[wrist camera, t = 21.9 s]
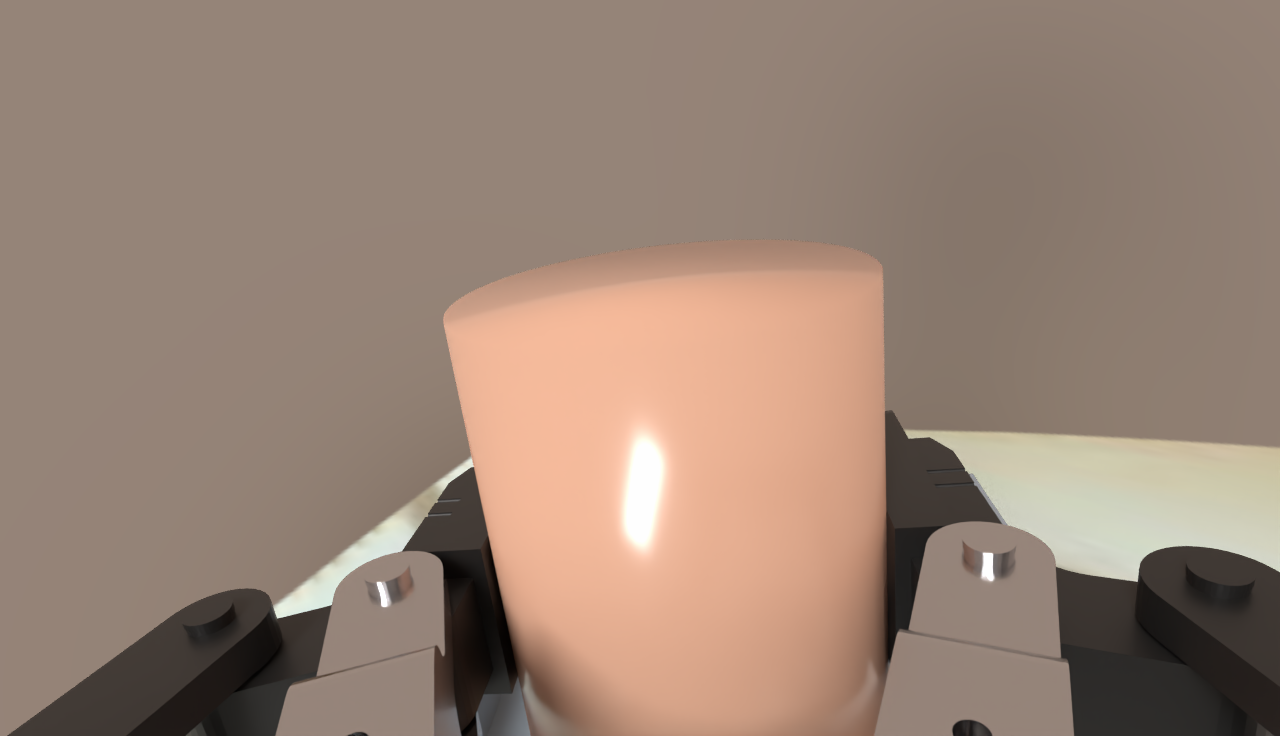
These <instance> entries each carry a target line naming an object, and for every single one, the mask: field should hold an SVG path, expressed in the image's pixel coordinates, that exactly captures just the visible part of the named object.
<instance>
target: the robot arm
mask: <svg viewBox="0 0 1280 736" xmlns="http://www.w3.org/2000/svg"><path fill="white" fill-rule="evenodd" d="M885 455H886V525H887V595H888V659H889V663H890V667H889V671H888V676H887V680H886V685H885V689H884V693H883V698H882V702H881V707H880V711H879V716H878V720H877V725H876V729H875V734H874V736H1280V572H1278V571H1276V570H1275V569H1273V568H1271V567H1269V566H1267V565H1265V564H1263V563H1260V562H1258V561H1256V560H1254V559H1251V558H1248V557H1245V556H1242V555H1239V554H1235V553H1231V552H1228V551H1223V550H1218V549H1213V548H1205V547H1193V546H1179V547H1169V548H1164V549H1160V550H1156V551H1154V552H1152V553H1150V554H1148V555H1147V556H1146V557H1145V558H1144V559H1143V560H1142V562H1141V563H1140V568H1139V576H1138V582H1134V581H1127V580H1119V579H1112V578H1105V577H1098V576H1091V575H1085V574H1079V573H1075V572H1071V571H1067V570H1064V569H1061V568H1057V567H1056V564H1055V558H1054V555H1053V553H1052V551H1051V550H1050V548H1049V547H1048V546H1047V545H1046V544H1045V543H1044V542H1042V541H1041V540H1040V539H1038V538H1037V537H1035V536H1033V535H1032V534H1030V533H1027V532H1025V531H1023V530H1020V529H1018V528H1015V527H1012V526H1007V525H1003V524H1002V523H1001V521H1000V520H999V518H998V517H997V515H996V514H995V512H994V511H993V509H992V508H991V506H990V505H989V503H988V502H987V500H986V499H985V497H984V496H983V494H982V493H981V492H980V490H979V489H978V487H977V486H975V485H974V481H973V480H972V478H971V477H970V475H969V474H968V472H967V471H965V468H964V466H963V465H962V463H961V462H960V460H959V459H958V457H957V456H956V454H955V453H954V452H953V451H952V450H950V449H949V448H947V447H945V446H944V445H942V444H940V443H938V442H937V441H935V440H933V439H931V438H930V437H929V438H914V439H908V437H907V435H906V434H905V432H904V430H903V428H902V427H901V425H900V423H899V421H898V420H897V418H896V416H895V414H894V413H893V411H891V410H890V411H885ZM517 678H518V673H517V669H516V664H515V659H514V654H513V650H512V645H511V640H510V636H509V631H508V626H507V621H506V617H505V612H504V607H503V602H502V598H501V593H500V588H499V583H498V579H497V574H496V569H495V564H494V560H493V555H492V550H491V546H490V541H489V536H488V531H487V527H486V522H485V517H484V512H483V508H482V503H481V498H480V493H479V489H478V484H477V479H476V474H475V470H474V467H471V468H470V469H468V470H467V471H465V472H464V473H463V474H461V475H460V476H458V477H457V478H455V479H454V480H453V481H451V482H450V483H449V484H448V485H447V487H446V488H445V490H444V491H443V493H442V494H441V496H440V497H439V499H438V503H435V504H434V506H433V507H432V509H431V510H430V512H429V513H428V517H425V519H424V520H423V522H422V523H421V525H420V526H419V527H418V529H417V530H416V532H415V533H414V535H413V536H412V538H411V539H410V540H409V542H408V543H407V545H406V546H405V548H404V549H403V551H402V552H398V553H393V554H389V555H385V556H382V557H379V558H377V559H374V560H372V561H370V562H367V563H365V564H364V565H362V566H360V567H358V568H357V569H355V570H354V571H352V572H351V573H350V574H349V575H347V576H346V577H345V578H344V579H343V580H342V581H341V582H340V584H339V585H338V587H337V588H336V591H335V594H334V598H333V602H332V605H331V606H327V607H324V608H319V609H315V610H311V611H307V612H303V613H299V614H295V615H291V616H287V617H283V618H278V619H277V617H276V614H275V611H274V608H273V605H272V602H271V600H270V597H269V596H268V595H267V594H266V593H265V592H263V591H261V590H256V589H236V590H230V591H225V592H222V593H218V594H215V595H212V596H209V597H206V598H204V599H201V600H199V601H197V602H195V603H193V604H191V605H189V606H187V607H185V608H184V609H182V610H180V611H179V612H177V613H175V614H174V615H172V616H171V617H170V618H168V619H167V620H165V621H164V622H163V623H161V624H160V625H159V626H157V627H156V628H154V629H153V630H152V631H151V632H149V633H148V634H146V635H145V636H144V637H142V638H141V639H139V640H138V641H137V642H135V643H134V644H133V645H131V646H130V647H128V648H127V649H126V650H124V651H123V652H122V653H120V654H119V655H117V656H116V657H115V658H114V659H112V660H111V661H109V662H108V663H107V664H105V665H104V666H102V667H101V668H100V669H98V670H97V671H96V672H94V673H93V674H91V675H90V676H89V677H87V678H86V679H85V680H83V681H82V682H80V683H79V684H78V685H76V686H75V687H74V688H72V689H71V690H70V691H68V692H67V693H65V694H64V695H63V696H61V697H60V698H58V699H57V700H56V701H54V702H53V703H52V704H50V705H49V706H48V707H46V708H45V709H44V710H42V711H41V712H39V713H38V714H37V715H35V716H34V717H32V718H31V719H30V720H28V721H27V722H26V723H24V724H23V725H21V726H20V727H19V728H17V729H16V730H15V731H13V732H12V733H11V734H9V735H8V736H482V728H481V724H480V720H479V715H478V711H477V710H478V707H479V705H480V702H481V700H482V697H483V694H512V692H513V689H514V687H515V684H516V681H517Z"/></svg>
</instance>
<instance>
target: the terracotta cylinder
mask: <svg viewBox="0 0 1280 736" xmlns="http://www.w3.org/2000/svg"><path fill="white" fill-rule="evenodd" d="M443 322H444V328H445V332H446V337H447V342H448V346H449V351H450V356H451V361H452V365H453V370H454V375H455V380H456V384H457V389H458V393H459V399H460V403H461V408H462V413H463V417H464V422H465V426H466V432H467V436H468V440H469V446H470V451H471V455H472V460H473V465H474V470H475V474H476V479H477V484H478V489H479V493H480V498H481V503H482V508H483V512H484V517H485V522H486V527H487V531H488V536H489V541H490V546H491V550H492V555H493V560H494V564H495V569H496V574H497V579H498V583H499V588H500V593H501V598H502V602H503V607H504V612H505V617H506V621H507V626H508V631H509V636H510V640H511V645H512V650H513V654H514V659H515V664H516V669H517V673H518V678H519V683H520V688H521V692H522V697H523V702H524V707H525V711H526V716H527V721H528V726H529V730H530V735H531V736H874V734H875V729H876V725H877V720H878V716H879V711H880V707H881V702H882V698H883V693H884V689H885V685H886V680H887V676H888V671H889V665H888V595H887V525H886V455H885V385H884V316H883V267H882V266H881V264H880V263H879V261H878V260H876V259H875V258H874V257H872V256H870V255H868V254H866V253H864V252H861V251H858V250H855V249H851V248H848V247H843V246H838V245H833V244H826V243H818V242H809V241H796V240H767V239H766V240H765V239H749V240H748V239H747V240H719V241H718V240H717V241H703V242H702V241H701V242H689V243H677V244H667V245H658V246H649V247H642V248H635V249H628V250H621V251H615V252H609V253H603V254H598V255H592V256H587V257H582V258H577V259H572V260H568V261H563V262H559V263H555V264H550V265H546V266H542V267H539V268H535V269H531V270H528V271H524V272H521V273H518V274H515V275H512V276H509V277H506V278H503V279H500V280H498V281H495V282H492V283H490V284H487V285H485V286H483V287H481V288H478V289H476V290H474V291H472V292H470V293H469V294H466V295H465V296H463V297H462V298H460V299H459V300H457V301H456V302H454V303H453V304H452V305H451V306H450V307H449V308H448V309H447V311H446V313H445V314H444V320H443Z"/></svg>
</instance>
